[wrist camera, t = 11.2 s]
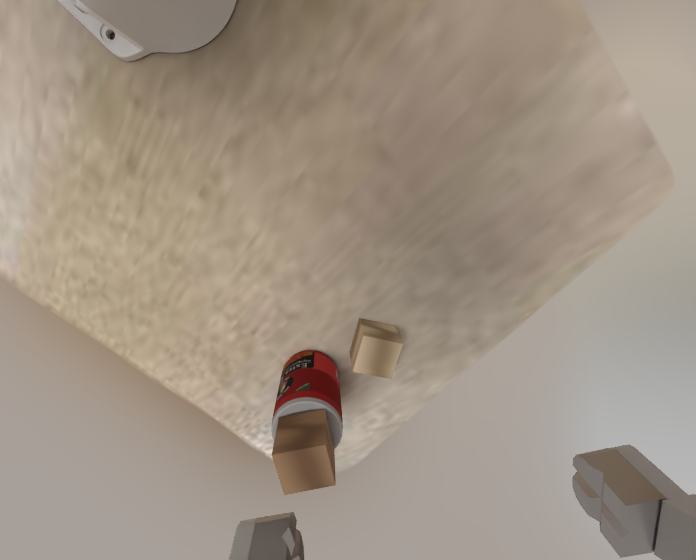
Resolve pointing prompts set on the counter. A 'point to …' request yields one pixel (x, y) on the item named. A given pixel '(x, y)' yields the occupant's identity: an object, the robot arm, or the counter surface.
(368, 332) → the oak block
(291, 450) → the walnut block
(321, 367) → the canned food
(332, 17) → the counter surface
